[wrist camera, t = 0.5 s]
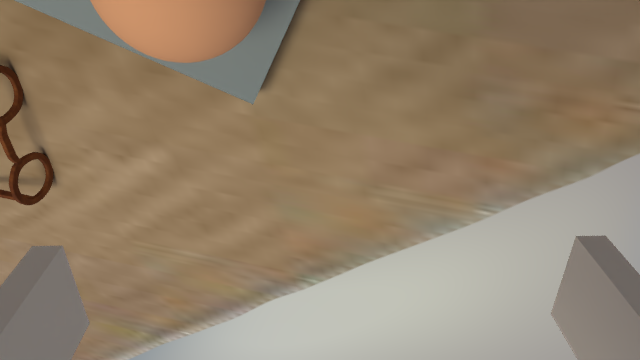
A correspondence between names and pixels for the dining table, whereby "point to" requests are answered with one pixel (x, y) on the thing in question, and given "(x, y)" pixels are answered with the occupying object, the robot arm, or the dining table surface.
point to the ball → (180, 25)
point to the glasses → (15, 194)
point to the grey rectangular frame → (220, 72)
